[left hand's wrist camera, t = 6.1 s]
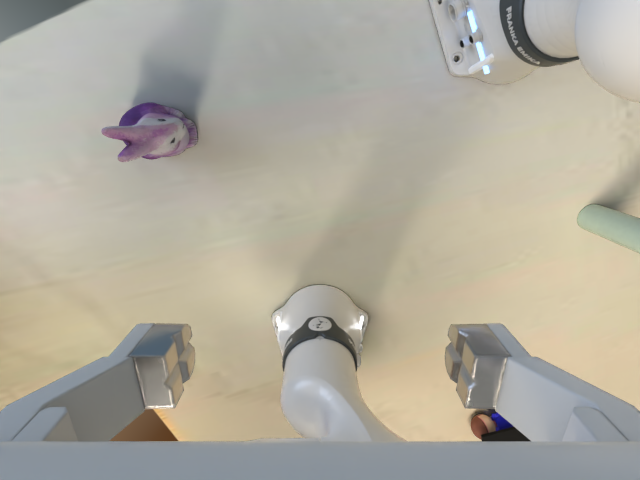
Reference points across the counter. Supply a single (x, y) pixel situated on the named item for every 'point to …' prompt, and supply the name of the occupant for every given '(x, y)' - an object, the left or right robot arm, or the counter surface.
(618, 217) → the jar
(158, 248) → the counter surface
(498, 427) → the figurine character
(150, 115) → the figurine
